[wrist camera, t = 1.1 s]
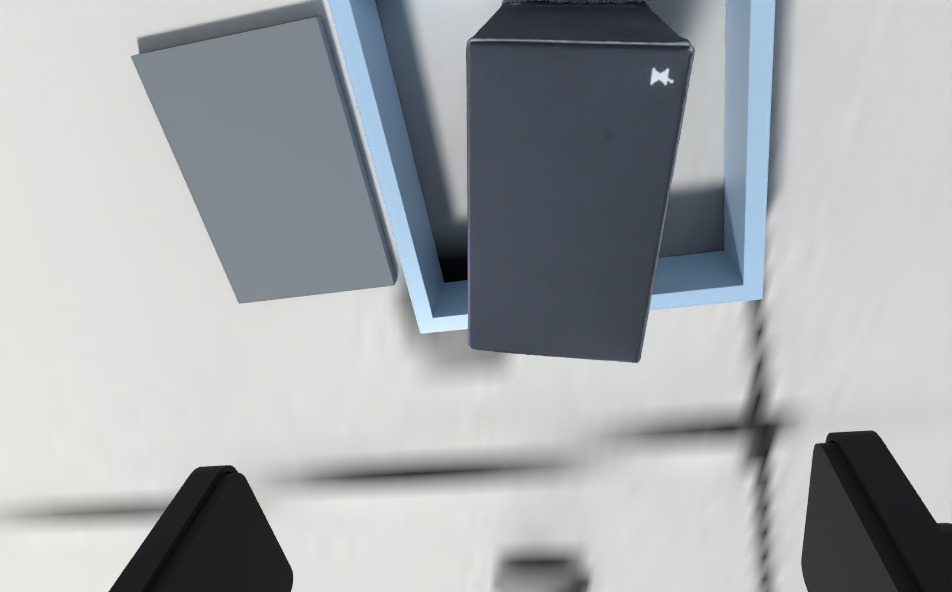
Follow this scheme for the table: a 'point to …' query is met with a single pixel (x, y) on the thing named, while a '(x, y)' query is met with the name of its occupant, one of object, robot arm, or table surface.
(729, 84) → the bin
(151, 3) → the table surface
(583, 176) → the small box
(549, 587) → the table surface
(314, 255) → the mat
